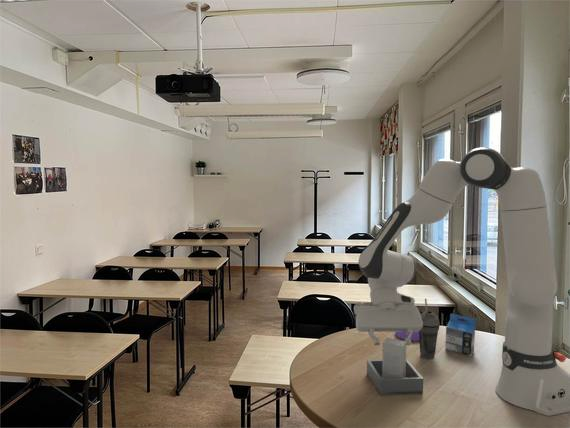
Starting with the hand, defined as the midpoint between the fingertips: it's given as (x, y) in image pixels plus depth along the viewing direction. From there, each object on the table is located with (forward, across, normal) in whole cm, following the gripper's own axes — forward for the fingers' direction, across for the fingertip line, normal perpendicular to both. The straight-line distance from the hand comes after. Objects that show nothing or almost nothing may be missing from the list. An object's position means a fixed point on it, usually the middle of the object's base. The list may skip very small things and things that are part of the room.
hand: (392, 344), depth 121 cm
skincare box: (+9, 0, +6) cm, 11 cm away
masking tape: (-17, +17, +33) cm, 41 cm away
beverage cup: (-4, +16, +20) cm, 26 cm away
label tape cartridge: (-6, +29, +22) cm, 37 cm away
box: (+9, 0, +6) cm, 11 cm away
